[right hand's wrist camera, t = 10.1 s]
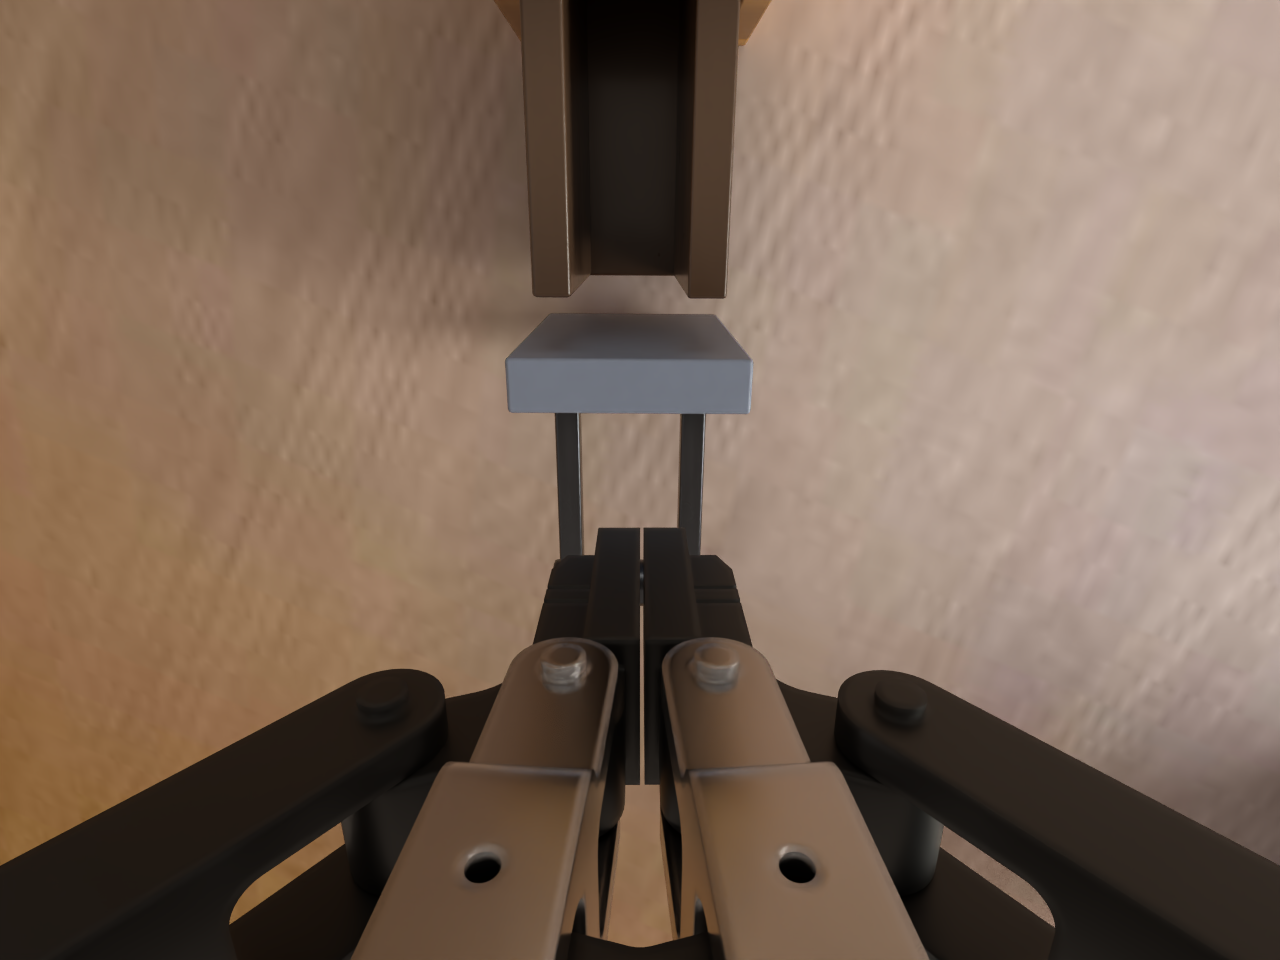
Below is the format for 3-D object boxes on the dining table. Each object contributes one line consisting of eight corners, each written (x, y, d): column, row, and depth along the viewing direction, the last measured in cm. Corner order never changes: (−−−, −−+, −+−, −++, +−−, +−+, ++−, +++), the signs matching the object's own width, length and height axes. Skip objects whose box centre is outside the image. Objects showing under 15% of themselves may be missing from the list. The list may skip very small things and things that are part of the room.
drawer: (707, 522, 24) (736, 650, 17) (556, 522, 24) (521, 649, 17) (747, -426, 16) (835, -948, 9) (521, -427, 16) (425, -952, 9)
